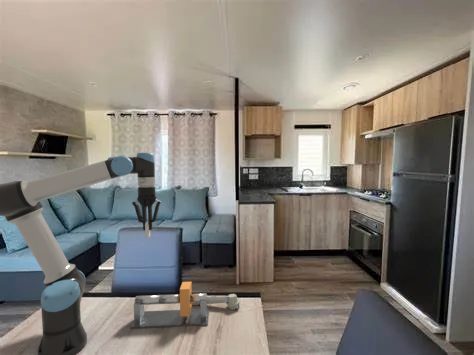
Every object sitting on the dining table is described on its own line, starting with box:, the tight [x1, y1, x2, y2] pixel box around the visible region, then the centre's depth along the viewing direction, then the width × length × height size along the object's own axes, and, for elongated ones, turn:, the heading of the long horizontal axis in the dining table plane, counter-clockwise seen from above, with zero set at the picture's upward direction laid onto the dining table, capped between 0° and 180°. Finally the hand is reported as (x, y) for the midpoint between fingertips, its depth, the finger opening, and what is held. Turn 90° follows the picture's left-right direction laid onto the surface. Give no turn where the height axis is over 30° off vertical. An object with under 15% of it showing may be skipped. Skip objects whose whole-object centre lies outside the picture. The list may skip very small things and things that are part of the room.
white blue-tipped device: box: [192, 293, 241, 311], centre depth 122 cm, size 5×7×25 cm
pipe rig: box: [129, 292, 210, 330], centre depth 111 cm, size 32×11×11 cm, turn 93°
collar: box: [179, 281, 193, 316], centre depth 112 cm, size 4×8×11 cm, turn 3°
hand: (147, 236), depth 118 cm, fingers closed
